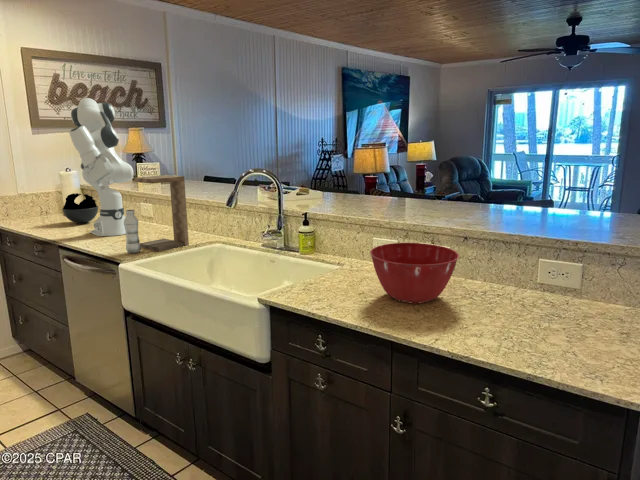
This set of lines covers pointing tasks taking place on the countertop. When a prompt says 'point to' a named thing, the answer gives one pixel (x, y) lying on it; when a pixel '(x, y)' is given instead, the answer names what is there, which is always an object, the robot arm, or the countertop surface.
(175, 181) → the walnut shelf
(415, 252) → the mixing bowl
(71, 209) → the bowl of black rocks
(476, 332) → the countertop surface
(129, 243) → the plastic bottle
